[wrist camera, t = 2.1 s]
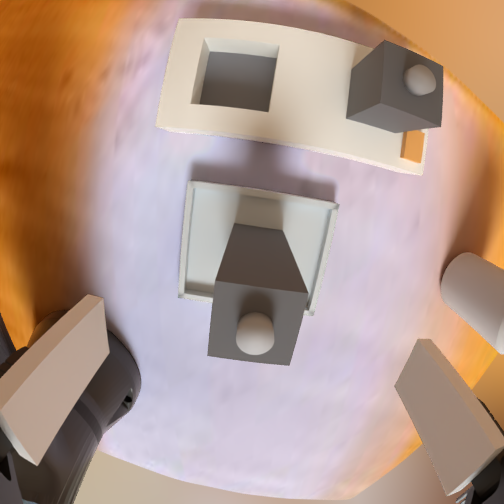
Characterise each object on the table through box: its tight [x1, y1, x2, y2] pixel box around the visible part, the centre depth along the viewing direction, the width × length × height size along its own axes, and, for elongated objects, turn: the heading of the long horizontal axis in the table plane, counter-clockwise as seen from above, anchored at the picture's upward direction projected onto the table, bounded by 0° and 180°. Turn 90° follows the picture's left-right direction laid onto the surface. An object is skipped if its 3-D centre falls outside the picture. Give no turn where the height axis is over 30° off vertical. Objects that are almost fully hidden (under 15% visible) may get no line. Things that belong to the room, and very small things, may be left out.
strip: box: [155, 18, 443, 175], centre depth 16 cm, size 20×9×11 cm, turn 81°
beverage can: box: [441, 252, 504, 354], centre depth 20 cm, size 6×6×12 cm
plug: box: [207, 223, 309, 366], centre depth 18 cm, size 4×4×13 cm
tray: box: [178, 180, 339, 316], centre depth 24 cm, size 12×10×2 cm
